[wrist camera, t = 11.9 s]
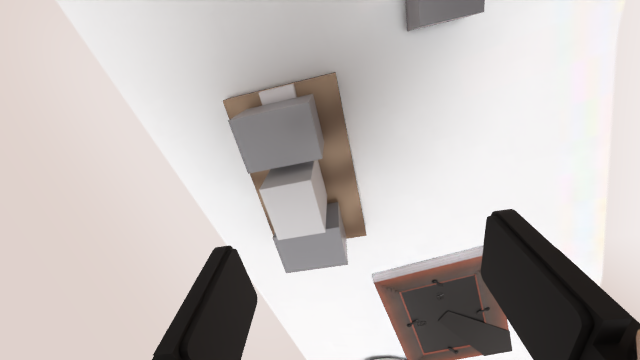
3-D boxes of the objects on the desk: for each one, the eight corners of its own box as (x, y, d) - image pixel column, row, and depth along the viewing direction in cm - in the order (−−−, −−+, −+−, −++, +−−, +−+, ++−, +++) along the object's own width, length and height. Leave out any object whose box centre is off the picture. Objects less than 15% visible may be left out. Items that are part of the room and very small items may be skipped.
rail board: (227, 98, 28) (218, 102, 26) (335, 72, 27) (335, 73, 25) (280, 241, 37) (276, 254, 34) (365, 228, 35) (367, 240, 33)
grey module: (272, 160, 29) (255, 190, 22) (315, 151, 28) (310, 180, 22) (287, 202, 31) (275, 240, 25) (327, 195, 30) (325, 232, 24)
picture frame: (503, 336, 44) (487, 240, 36) (512, 351, 42) (497, 253, 34) (407, 354, 48) (371, 270, 39) (410, 368, 45) (374, 283, 37)
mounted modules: (246, 109, 26) (228, 120, 22) (313, 93, 25) (308, 102, 21) (292, 243, 34) (286, 273, 29) (345, 235, 33) (347, 264, 28)
